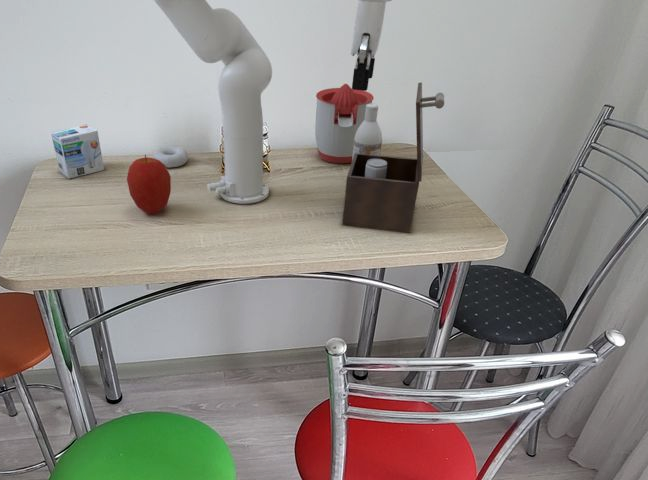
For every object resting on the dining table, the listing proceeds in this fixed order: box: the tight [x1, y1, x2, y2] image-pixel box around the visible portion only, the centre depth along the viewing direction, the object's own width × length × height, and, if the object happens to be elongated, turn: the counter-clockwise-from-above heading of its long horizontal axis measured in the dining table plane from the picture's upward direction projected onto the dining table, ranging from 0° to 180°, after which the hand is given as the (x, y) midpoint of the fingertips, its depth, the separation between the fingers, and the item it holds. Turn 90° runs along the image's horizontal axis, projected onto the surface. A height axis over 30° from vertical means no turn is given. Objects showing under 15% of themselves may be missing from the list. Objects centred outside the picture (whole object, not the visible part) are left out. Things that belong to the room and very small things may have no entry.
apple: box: [126, 153, 172, 215], centre depth 132 cm, size 10×10×14 cm
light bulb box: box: [50, 124, 105, 180], centre depth 152 cm, size 11×7×11 cm, turn 129°
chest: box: [341, 153, 420, 234], centre depth 132 cm, size 16×15×12 cm
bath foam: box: [352, 102, 383, 160], centre depth 143 cm, size 7×7×20 cm
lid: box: [415, 82, 445, 183], centre depth 121 cm, size 16×15×5 cm
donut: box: [152, 145, 189, 169], centre depth 159 cm, size 10×4×10 cm
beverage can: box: [365, 159, 387, 179], centre depth 132 cm, size 5×5×12 cm
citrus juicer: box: [314, 83, 375, 164], centre depth 157 cm, size 16×17×20 cm
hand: (362, 83), depth 121 cm, fingers open, 9 cm apart
